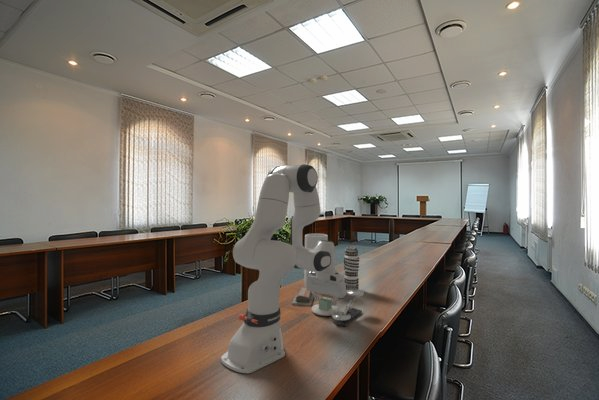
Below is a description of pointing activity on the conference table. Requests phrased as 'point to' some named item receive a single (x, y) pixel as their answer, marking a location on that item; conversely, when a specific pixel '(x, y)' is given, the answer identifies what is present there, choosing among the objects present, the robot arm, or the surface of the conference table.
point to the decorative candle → (351, 268)
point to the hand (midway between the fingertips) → (325, 303)
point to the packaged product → (303, 297)
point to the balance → (348, 310)
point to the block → (325, 304)
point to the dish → (324, 313)
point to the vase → (311, 243)
